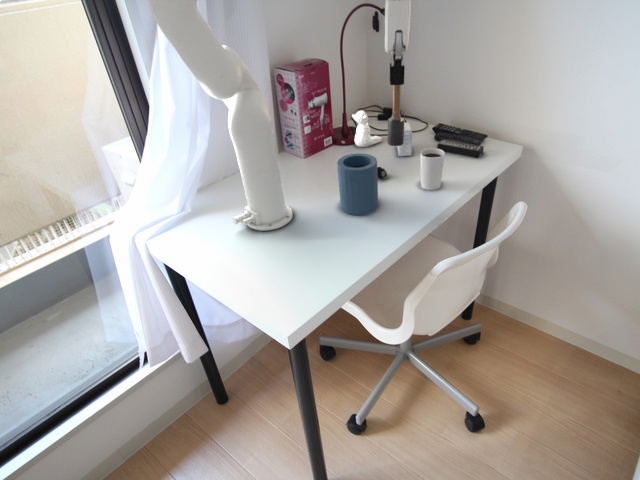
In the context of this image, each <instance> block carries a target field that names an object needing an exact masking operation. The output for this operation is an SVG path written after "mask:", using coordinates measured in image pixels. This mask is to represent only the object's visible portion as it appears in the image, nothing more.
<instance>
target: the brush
mask: <svg viewBox="0 0 640 480" xmlns="http://www.w3.org/2000/svg"><path fill="white" fill-rule="evenodd" d="M401 87H402V85H392V114H391V117H389V118H388V119H387V145H389V146H391V147H397V146H400V145H402V144H403V143H404V123H405V118H404V117H402V116H401V91H402V88H401Z"/></svg>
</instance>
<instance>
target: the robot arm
mask: <svg viewBox="0 0 640 480" xmlns="http://www.w3.org/2000/svg"><path fill="white" fill-rule="evenodd" d="M148 3H149V8H150V10H151V13H152V16H153V18H154V20H155V22H156V24H157V26H158V27H159V29H160V30H161V32H162V33H163V35H164V36H165V38H166V39H167V40H168V41H169V43H170V44H171V45H172V47H173V48H174V50H175V51H176V52H177V54H178V55H179V57H180V58H181V60H182V61H183V63H184V64H185V65H186V67H187V68H188V69H189V71H190V72H191V73H192V75H193V76H194V77H195V79H196V80H197V82H198V83H199V85H200V86H201V88H202V89H203V90H204V91H205V93H207V95H208V96H210V97H212V98H214V99H216V100H219V101H223V102H224V104H225V105H226V107H227V108H228V115H227V124H228V131H229V135H230V138H231V141H232V145H233V148H234V152H235V155H236V159H237V164H238V169H239V171H240V176H241V181H242V184H243V189H244V194H245V198H246V199H245V200H246V202H247V205H246V206H244V211H243V212H242V213H241V214H238V215H236V216H233V217H232V220H233V223H234V225H239V224H241V223H242V224H243V225H244V226H247V227H249V228H250V229H253V230H256V231H263V232H264V231H265V232H266V231H273V230H277V229H280V228H283V227H285V226H286V225H287V224H288V223H290V222H291V220H292V219H293V216H294V215H293V209H292V208H291V207H290V206H288V205H287V204H286V201H285V195H284V189H283V182H282V178H281V173H280V172H281V171H280V166H279V161H278V153H277V150H276V149H277V148H276V142H275V138H274V132H273V123H272V116H271V105H270V102H269V99H268V98H267V95H266V94H265V92H264V91H263V89H262V88H261V86H260V84H259V83H258V81H257V80H256V78H255V76H254V75H253V74H252V72H251V70H249V68H248V66H247V65H246V63H245V62H244V61H243V59H242V57H241V56H240V55H239V53H238V52H236V51H235V50H234V49H233V48H231V47H230V46H227V45H224V44H222V43H221V42H220V40H219V39H218V37H217V36H216V34H215V33H214V31H213V29H212V28H211V26H210V25H209V23H208V22H207V21H206V19H205V18H204V17H203V16H202V14H201V13H200V10H199V8H198V0H148ZM411 6H412V0H385V5H384V51H385V53H386V54H389V52H390V62H389V84H390V86H393V85H401V86H403V85H404V84H405V70H406V69H405V53H406V52H408V50H409V41H410V29H411V11H412V10H411V8H412V7H411Z"/></svg>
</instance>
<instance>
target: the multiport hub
mask: <svg viewBox="0 0 640 480" xmlns="http://www.w3.org/2000/svg"><path fill="white" fill-rule="evenodd" d="M436 148H437V149H441V150H443V151H444V152H446V153H450V154H456V155H461V156H466V157H471V158H476V159H478V158H480V157H482V155H483V154H484V149H485V146H483V145H479V144H472V143H467V142H461V141H456V140H450V139H446V138H443V139H441V140H440V141H438V143H437V147H436Z"/></svg>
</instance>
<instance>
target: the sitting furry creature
mask: <svg viewBox="0 0 640 480" xmlns="http://www.w3.org/2000/svg"><path fill="white" fill-rule="evenodd" d="M351 116H352V119H353V120H354V122H356V123H357V126H356V130H355V134H354V139H353V142H354V144H355V146H357V147H359V148H368V147H370V146H374V145H376V144H379V143H382V137H380V136H378V135H374V136H372V135H371V131H372V128H371V127H370V126H369V123H368V122H369V117H368V114H367V113H366V112H365V110H361V109H360V110H357V111H356V113H352V114H351Z"/></svg>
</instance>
